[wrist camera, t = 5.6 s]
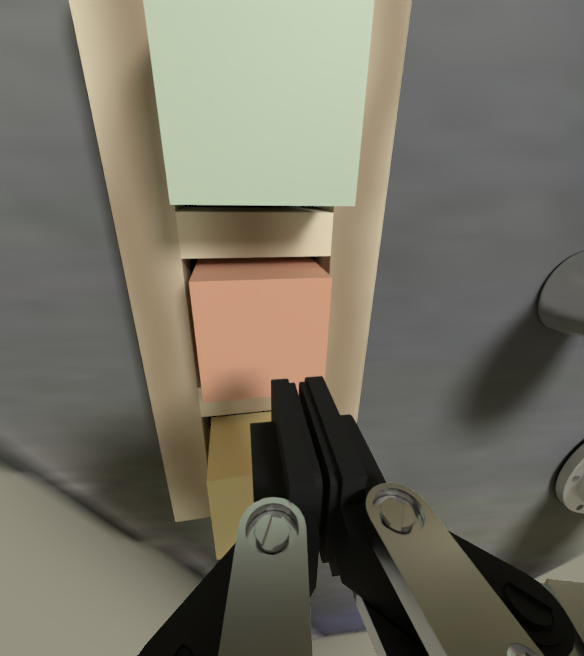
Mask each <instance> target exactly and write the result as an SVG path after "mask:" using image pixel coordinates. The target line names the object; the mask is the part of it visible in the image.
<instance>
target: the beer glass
mask: <svg viewBox="0 0 584 656" xmlns="http://www.w3.org/2000/svg"><path fill="white" fill-rule="evenodd" d="M538 314H539V318H540V320H541V321H542V323H543V324H544V325H545V326H547V327H548V328H550V329H552V330H555V331H559V332H562V333H567V334H571V335H575V336H579V337H583V338H584V251H582V252H579V253H577V254H575V255H573V256H571V257H570V258H568V259H567V260H565V261H564V262H563V263H562V264H560V265H559V266H558V267H557V268H556V269H555V270H554V271H553V273H552V274H551V275H550V276H549V278H548V279H547V281H546V282H545V284H544V286H543V288H542V290H541V293H540V296H539V300H538Z"/></svg>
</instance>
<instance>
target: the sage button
mask: <svg viewBox="0 0 584 656" xmlns="http://www.w3.org/2000/svg"><path fill="white" fill-rule="evenodd" d="M374 1H375V0H143V4H144V11H145V19H146V27H147V34H148V42H149V49H150V57H151V65H152V72H153V80H154V87H155V95H156V103H157V110H158V118H159V125H160V133H161V141H162V148H163V156H164V163H165V171H166V179H167V186H168V194H169V201H170V205H257V206H355V202H356V192H357V181H358V171H359V160H360V149H361V139H362V128H363V117H364V107H365V96H366V86H367V75H368V64H369V54H370V43H371V32H372V22H373V11H374Z"/></svg>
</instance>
